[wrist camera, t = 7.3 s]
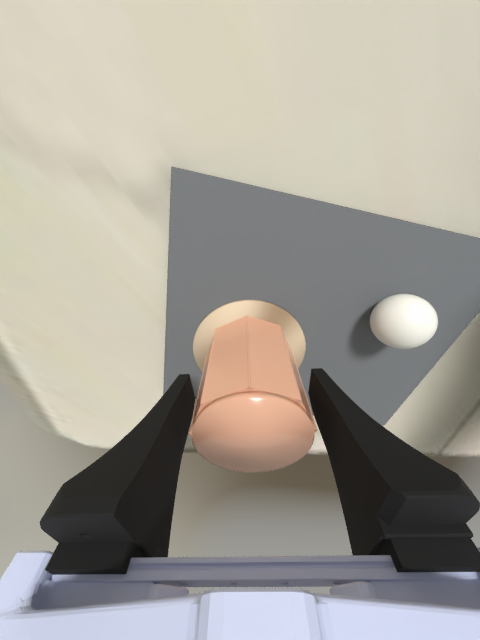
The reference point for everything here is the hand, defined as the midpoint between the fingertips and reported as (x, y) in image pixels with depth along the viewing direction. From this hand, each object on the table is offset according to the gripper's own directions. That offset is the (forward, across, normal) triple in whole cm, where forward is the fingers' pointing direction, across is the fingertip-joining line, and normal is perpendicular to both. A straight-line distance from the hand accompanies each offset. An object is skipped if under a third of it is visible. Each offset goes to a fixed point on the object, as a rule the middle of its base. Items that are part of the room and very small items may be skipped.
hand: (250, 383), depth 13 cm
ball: (+2, -9, -3) cm, 10 cm away
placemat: (+4, -4, -1) cm, 6 cm away
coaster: (+3, 0, 0) cm, 3 cm away
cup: (+3, 0, 0) cm, 3 cm away
